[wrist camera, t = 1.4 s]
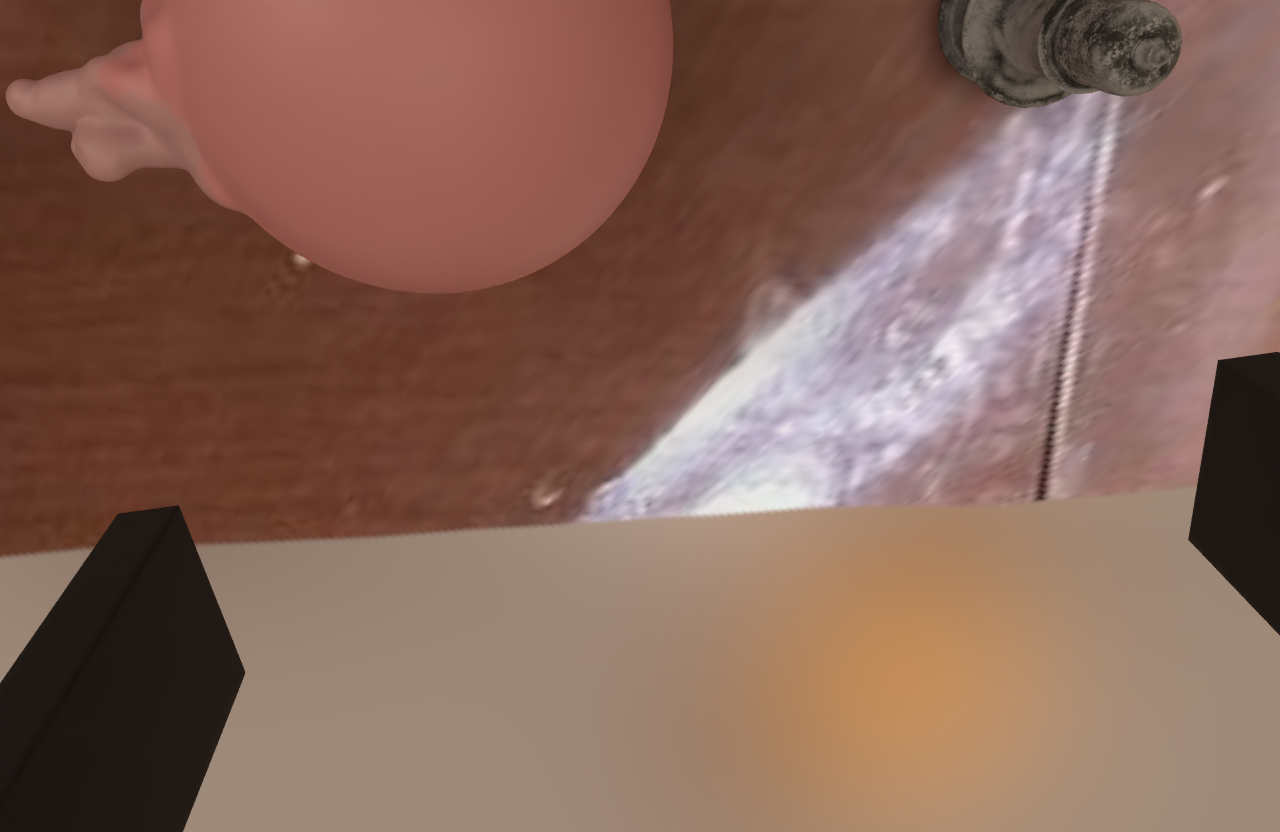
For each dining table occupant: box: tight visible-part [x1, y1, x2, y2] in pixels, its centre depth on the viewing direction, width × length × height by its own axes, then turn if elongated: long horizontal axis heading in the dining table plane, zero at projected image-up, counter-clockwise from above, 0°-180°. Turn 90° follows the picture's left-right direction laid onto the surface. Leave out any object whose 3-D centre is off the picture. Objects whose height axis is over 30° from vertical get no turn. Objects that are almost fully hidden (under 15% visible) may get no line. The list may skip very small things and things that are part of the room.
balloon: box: [6, 0, 673, 294], centre depth 32 cm, size 15×20×15 cm
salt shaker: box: [938, 0, 1182, 108], centre depth 35 cm, size 6×6×12 cm
